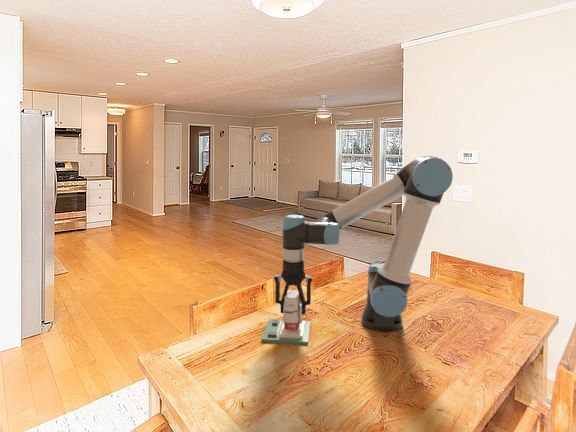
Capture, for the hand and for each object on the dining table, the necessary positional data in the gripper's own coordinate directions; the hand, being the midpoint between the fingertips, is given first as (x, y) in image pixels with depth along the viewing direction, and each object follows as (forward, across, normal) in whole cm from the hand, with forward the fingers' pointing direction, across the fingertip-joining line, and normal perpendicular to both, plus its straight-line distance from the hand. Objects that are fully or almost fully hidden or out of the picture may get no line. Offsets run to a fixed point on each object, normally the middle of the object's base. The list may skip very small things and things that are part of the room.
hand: (292, 321), depth 137 cm
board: (+4, +2, 0) cm, 5 cm away
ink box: (+1, 0, 0) cm, 1 cm away
